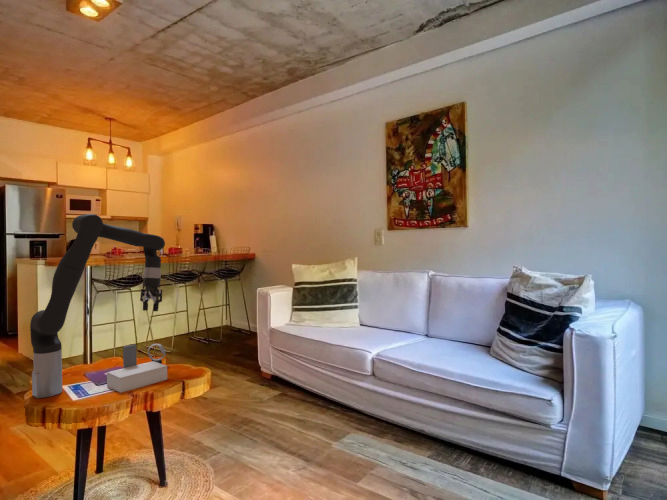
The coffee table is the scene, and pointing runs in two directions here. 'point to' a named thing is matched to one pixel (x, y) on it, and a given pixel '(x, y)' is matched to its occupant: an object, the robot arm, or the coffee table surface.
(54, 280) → the robot arm
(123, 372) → the light grey rectangular box
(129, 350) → the dark grey upright bracket
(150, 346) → the watch
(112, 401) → the coffee table surface
